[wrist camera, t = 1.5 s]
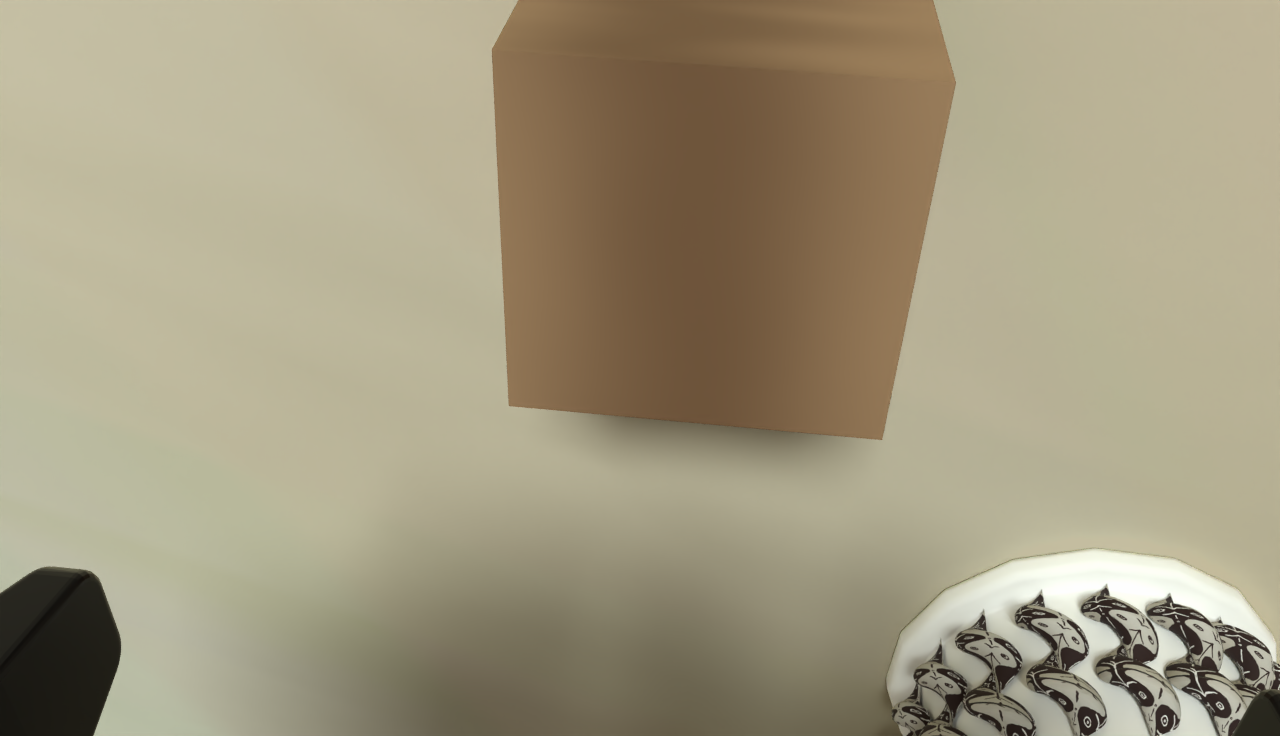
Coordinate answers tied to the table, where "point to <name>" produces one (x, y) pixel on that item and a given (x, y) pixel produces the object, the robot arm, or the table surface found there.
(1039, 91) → the table surface
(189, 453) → the table surface
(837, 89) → the walnut block
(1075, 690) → the decorative candle
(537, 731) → the table surface
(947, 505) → the table surface
